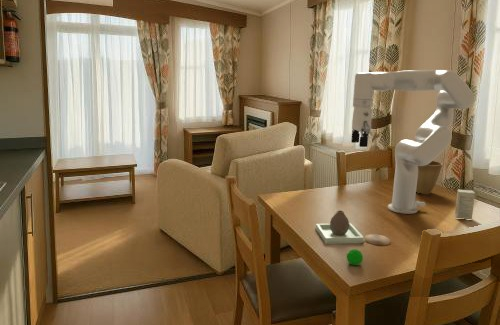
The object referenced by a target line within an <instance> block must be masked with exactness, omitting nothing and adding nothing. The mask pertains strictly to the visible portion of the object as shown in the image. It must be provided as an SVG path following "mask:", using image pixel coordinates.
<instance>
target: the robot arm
mask: <svg viewBox="0 0 500 325" xmlns="http://www.w3.org/2000/svg"><path fill="white" fill-rule="evenodd" d="M390 90H393V91H395V90H396V91H402V92H404V91H405V92H417V91H418V92H420V91H424V92H425V91H439V92H437V96H436V107H435V111H434V113H433V114H432V115H431V116H430V117H429V118H428V119H427V120H426V121H425V122H423V123H422V124H421V125H420V126H419V127H418V128H417V129H416V131H415V133H414V139H415V140H412V139H402V140H400V141H399V142H398V143H397V144H396V145H395V148H394V156H395V158H394V160H395V167H394V168H395V169H394V170H395V171H394V179H393V189H392V198H391V203H389V204H387V209H388V210H390V211H392V212H394V213H398V214H404V215H407V214H408V215H413V214H416V213H418V211H419V208H418V207H425V206H426V202H425V201H420V200H416V195H417V193H416V188H417V179H418V166H425V165H428V164H429V163H430V162H432V161H435V159H436V158H437V157H438V156H439V155H441V154H442V153H443V152H444V151H445V150H446V149H447V148H448V147H449V145H450V144H451V142H452V139H453V136H452V130H451V129H450V127H451V125H452V124H453V122H454V109H456V110H466V109H469V108H470V107H471V106H472V105H473V104H474V101H475V96H474V93H473V91H472V89H471V88H470V87H469V86H468V84H466V82H465V81H464V80H463V79H462V78H461V76H460V75H459V74H457V72H455V71H454V70H451V69H418V70H417V69H414V70H412V69H411V70H400V71H399V70H398V71H373V72H360V71H359V72H357V73H356V74H355V75H354V86H353V99H352V107H353V112H352V121H351V141H350V142H351V143H357V144H358V143H359V145H358V146H359V147H360V148H367V147H368V145H369V143H368V142H369V137H370V136H369V134H370V132H371V131H372V107H373V95H374V91H375V92H376V91H377V92H378V91H379V92H388V91H390Z"/></svg>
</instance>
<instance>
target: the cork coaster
mask: <svg viewBox="0 0 500 325" xmlns="http://www.w3.org/2000/svg"><path fill="white" fill-rule="evenodd" d="M364 241H365V242H366V243H368V244H371V245H374V246H383V247H384V246H388V245H390V244H391V239H390V238H389V237H388V236H385V235H381V234H376V233H375V234H374V233H373V234H366V235H365V236H364Z"/></svg>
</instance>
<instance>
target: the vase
mask: <svg viewBox="0 0 500 325" xmlns="http://www.w3.org/2000/svg"><path fill="white" fill-rule="evenodd" d="M349 223H350V221H349V218H348V217H347V215H346V214H345V212H344V211H343V210H337V211H336V213H334V215H333V216H332V217H331V219H330V223H329V224H330V229H331V231H332V233H333V234H335V235H338V236H342V235H344V234H346V233H347V231H348V229H349Z"/></svg>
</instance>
